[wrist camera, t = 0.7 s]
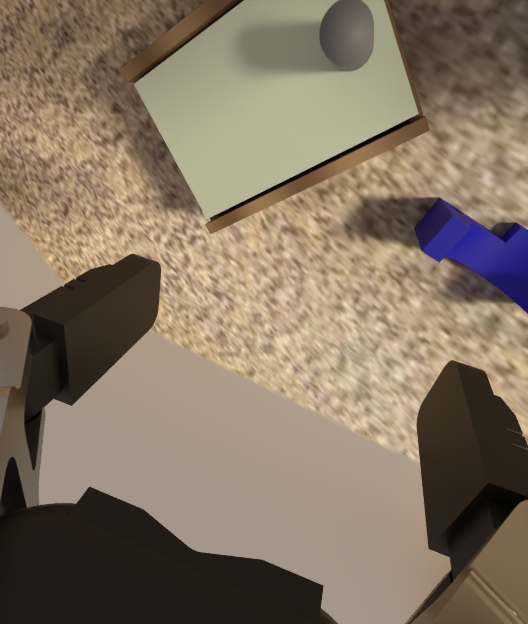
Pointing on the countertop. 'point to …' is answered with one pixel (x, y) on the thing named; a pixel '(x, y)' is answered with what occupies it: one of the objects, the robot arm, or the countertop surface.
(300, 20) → the cover plate
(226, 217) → the walnut box
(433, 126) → the countertop surface
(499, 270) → the blue curved stepped block
